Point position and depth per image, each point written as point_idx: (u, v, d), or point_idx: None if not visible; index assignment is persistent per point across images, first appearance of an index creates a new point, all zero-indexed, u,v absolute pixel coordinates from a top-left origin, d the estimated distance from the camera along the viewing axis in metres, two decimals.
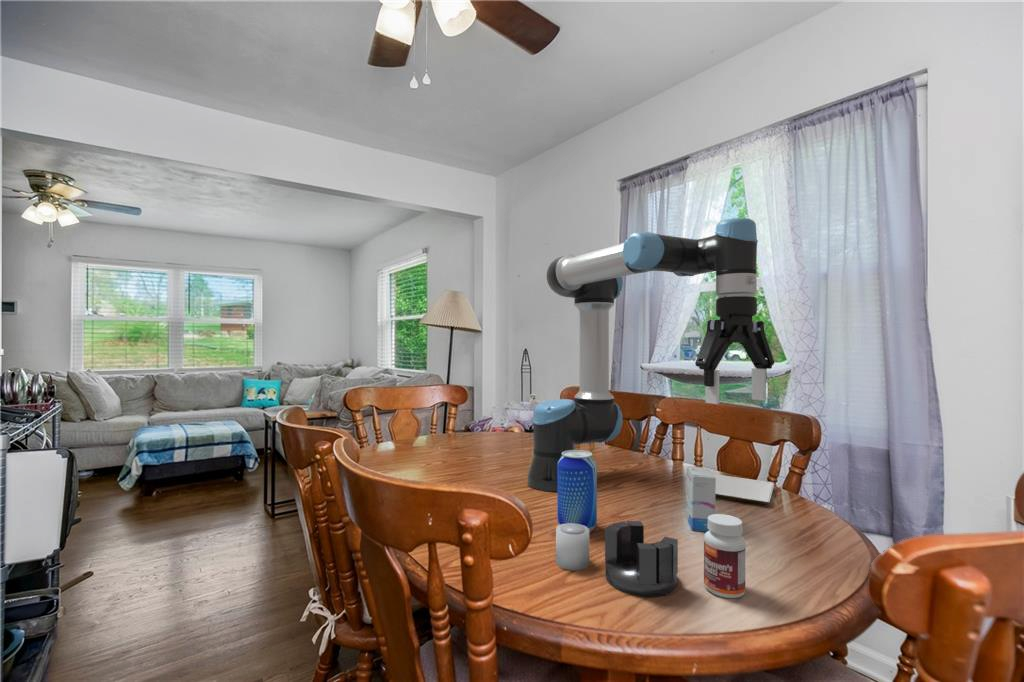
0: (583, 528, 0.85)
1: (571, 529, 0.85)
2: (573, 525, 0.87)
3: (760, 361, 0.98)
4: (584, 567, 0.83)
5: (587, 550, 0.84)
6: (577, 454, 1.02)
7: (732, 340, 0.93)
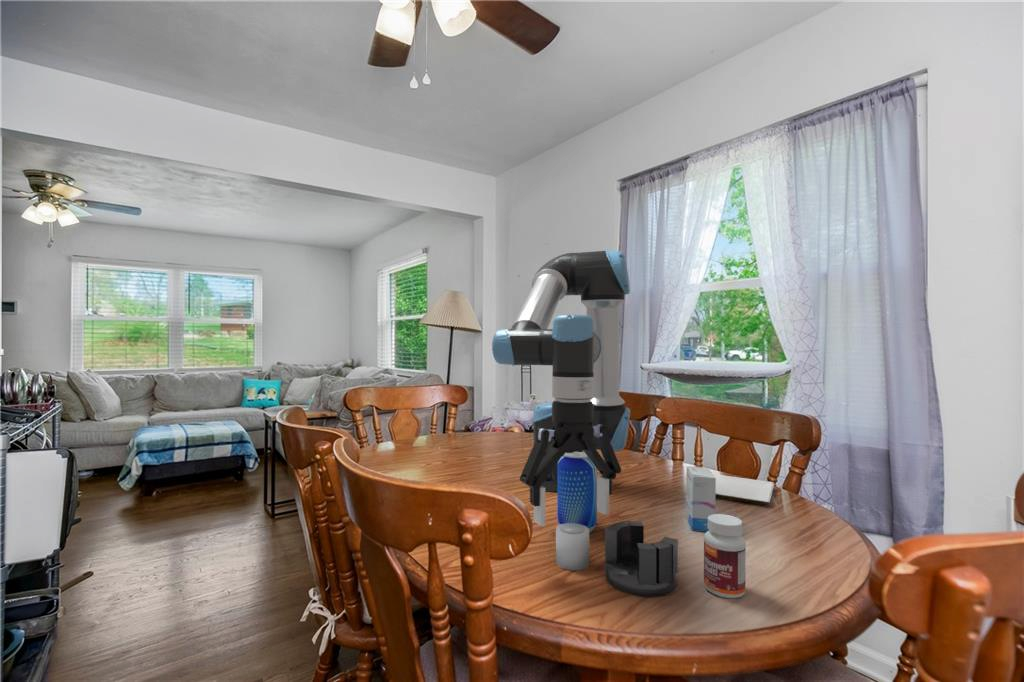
0: (583, 528, 0.85)
1: (571, 529, 0.85)
2: (573, 525, 0.87)
3: (603, 470, 0.87)
4: (584, 567, 0.83)
5: (587, 550, 0.84)
6: (577, 454, 1.02)
7: (562, 452, 0.83)
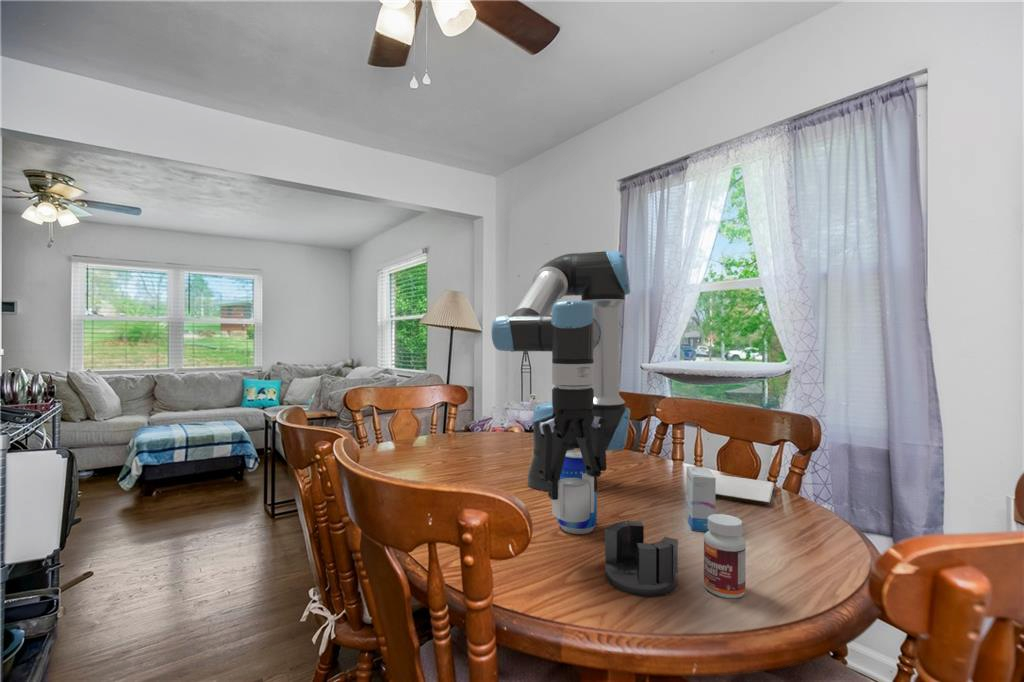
0: (584, 481, 0.86)
1: (572, 482, 0.85)
2: (574, 479, 0.87)
3: (590, 465, 0.87)
4: (584, 519, 0.84)
5: (587, 503, 0.84)
6: (577, 454, 1.02)
7: (568, 441, 0.84)
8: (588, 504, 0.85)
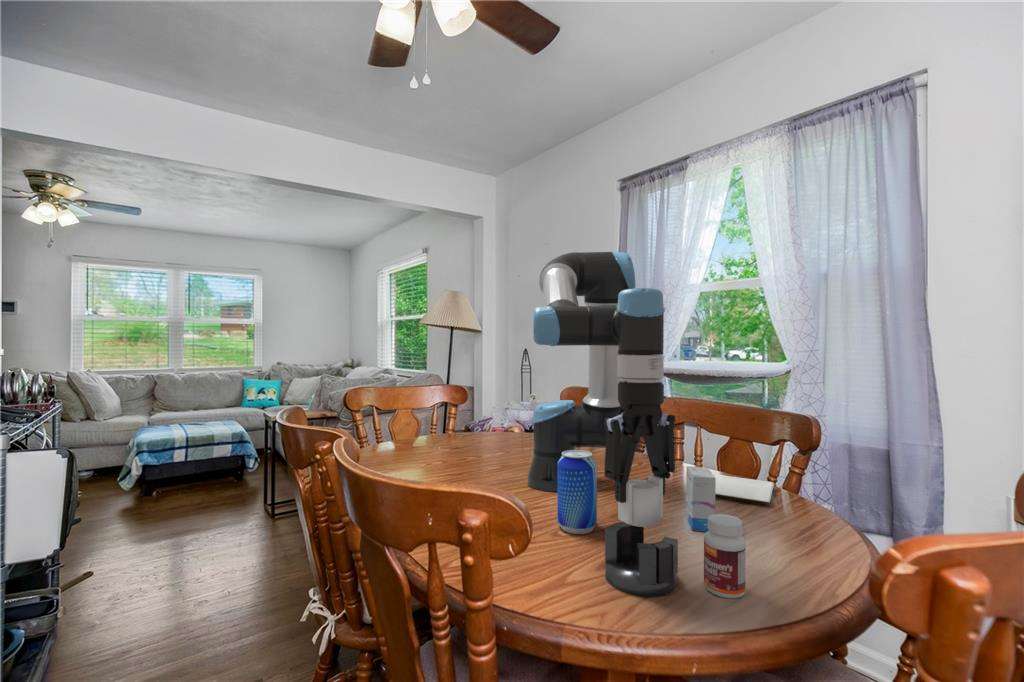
0: (652, 483, 0.79)
1: (640, 484, 0.79)
2: (641, 481, 0.81)
3: (658, 465, 0.80)
4: (655, 524, 0.77)
5: (658, 506, 0.78)
6: (577, 454, 1.02)
7: (637, 439, 0.77)
8: (658, 507, 0.78)
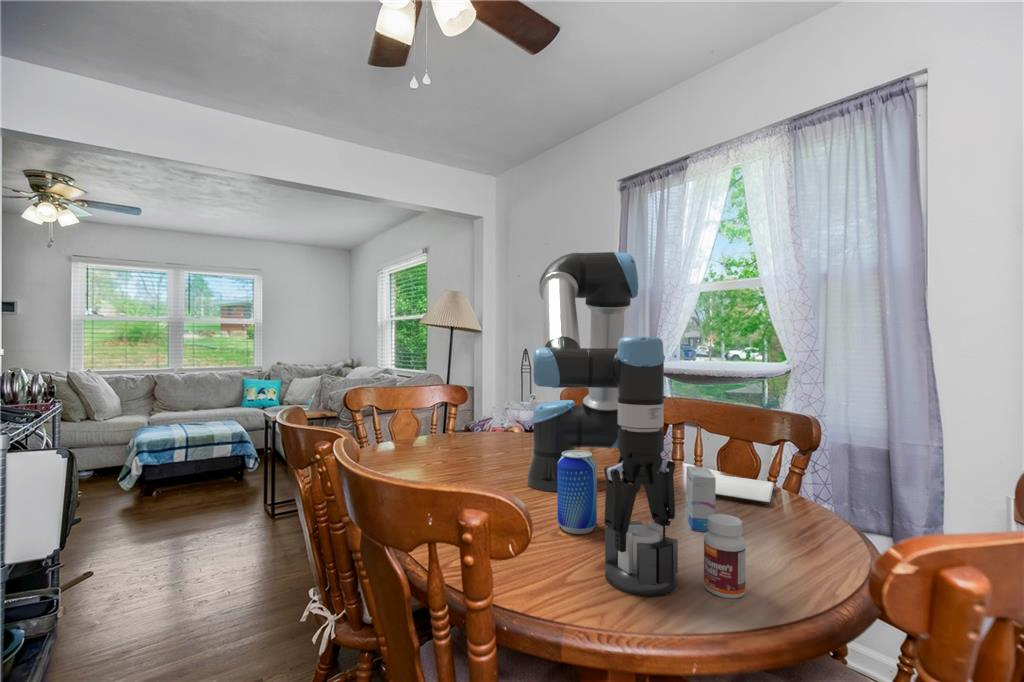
0: (652, 530, 0.79)
1: (640, 531, 0.79)
2: (641, 527, 0.81)
3: (658, 513, 0.80)
4: None
5: None
6: (577, 454, 1.02)
7: (637, 488, 0.77)
8: None
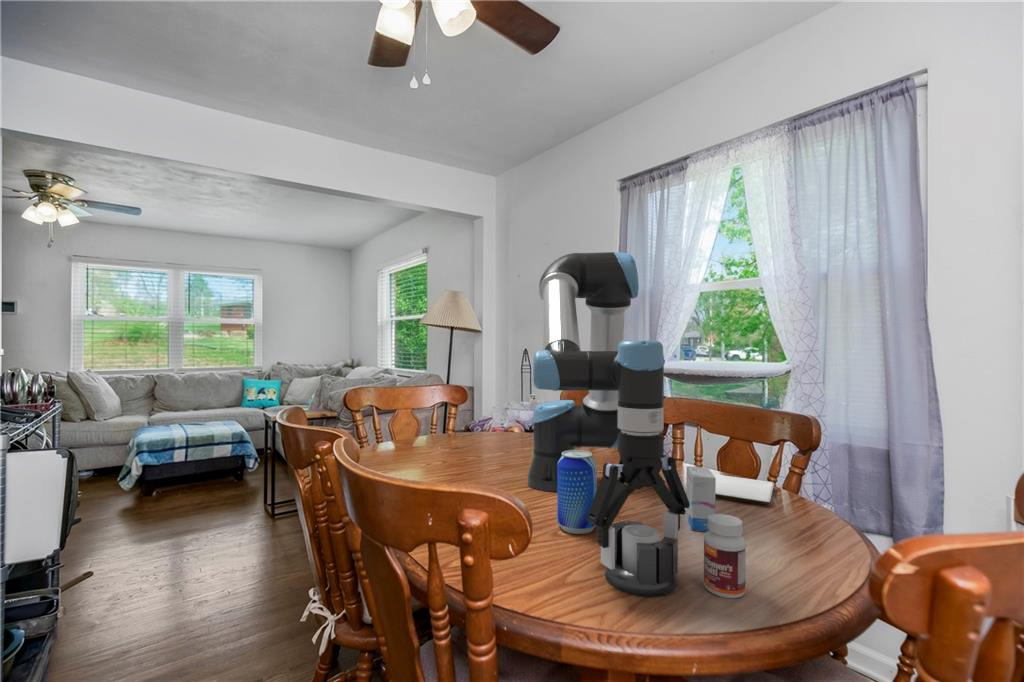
0: (652, 530, 0.79)
1: (640, 531, 0.79)
2: (640, 527, 0.81)
3: (671, 505, 0.82)
4: None
5: None
6: (577, 454, 1.02)
7: (632, 489, 0.77)
8: None
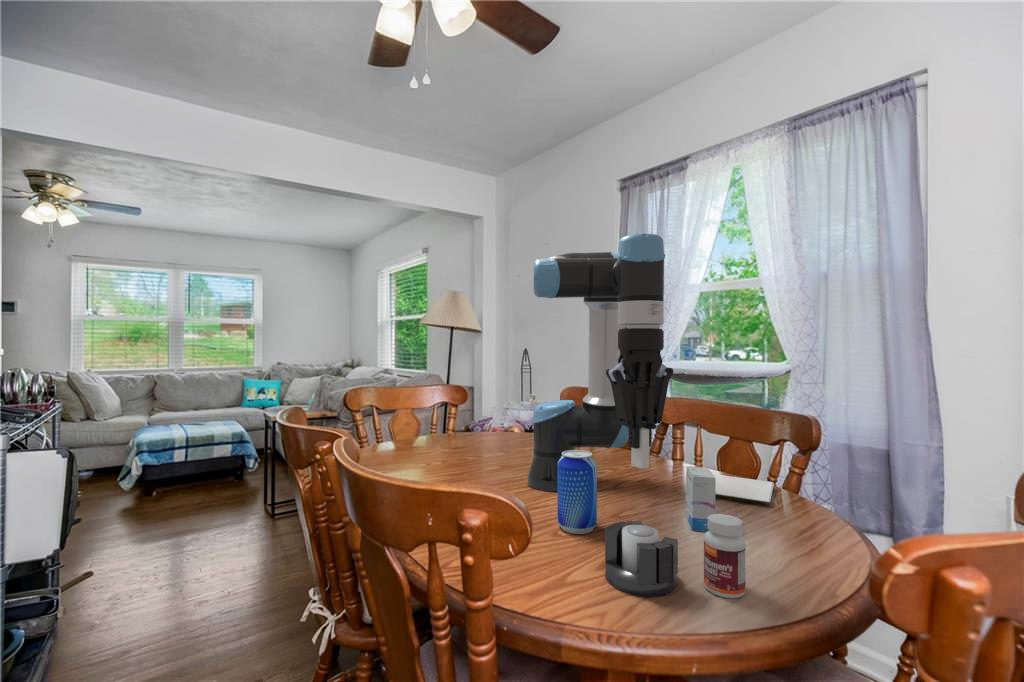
0: (652, 530, 0.79)
1: (639, 531, 0.79)
2: (640, 527, 0.81)
3: (646, 415, 0.80)
4: None
5: None
6: (577, 454, 1.02)
7: (641, 384, 0.78)
8: None
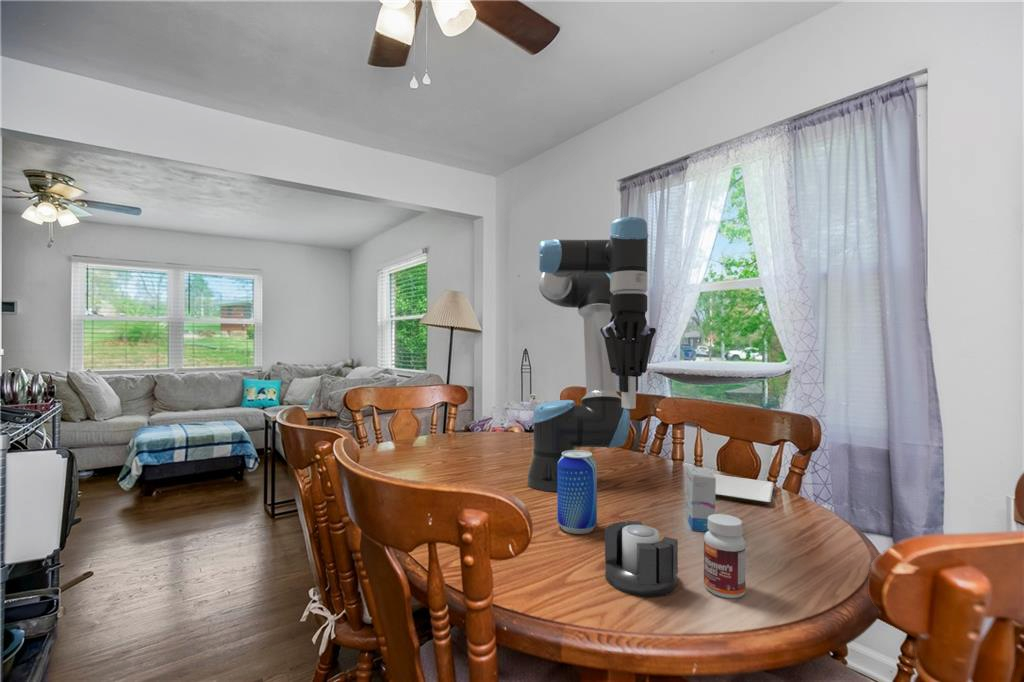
0: (652, 530, 0.79)
1: (640, 531, 0.79)
2: (641, 527, 0.81)
3: (634, 365, 0.97)
4: None
5: None
6: (577, 454, 1.02)
7: (629, 339, 0.96)
8: None
